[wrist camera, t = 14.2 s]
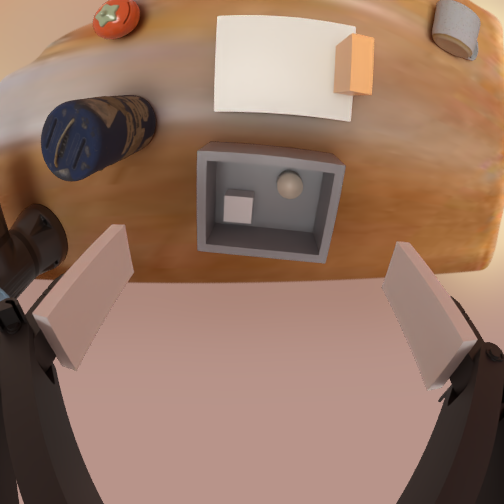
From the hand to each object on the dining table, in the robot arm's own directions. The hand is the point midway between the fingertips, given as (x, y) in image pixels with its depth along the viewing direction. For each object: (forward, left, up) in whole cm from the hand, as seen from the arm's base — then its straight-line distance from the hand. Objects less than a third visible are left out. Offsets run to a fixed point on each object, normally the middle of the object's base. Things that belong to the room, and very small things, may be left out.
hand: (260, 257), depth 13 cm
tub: (0, -7, -30) cm, 31 cm away
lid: (+1, +13, -30) cm, 33 cm away
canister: (-22, +3, -30) cm, 38 cm away
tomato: (-24, +21, -30) cm, 44 cm away
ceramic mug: (+28, +27, -31) cm, 49 cm away
